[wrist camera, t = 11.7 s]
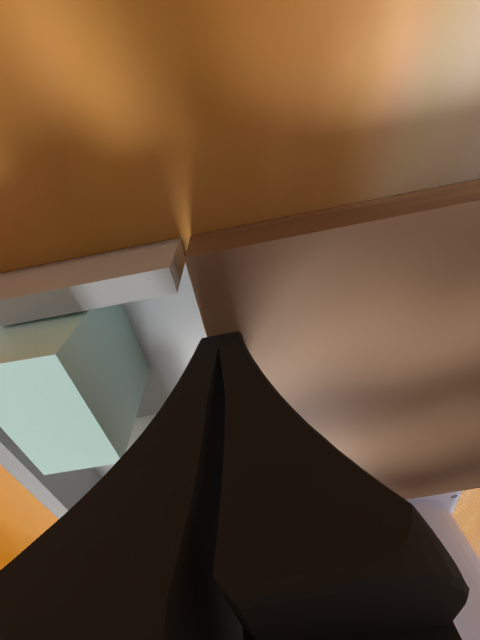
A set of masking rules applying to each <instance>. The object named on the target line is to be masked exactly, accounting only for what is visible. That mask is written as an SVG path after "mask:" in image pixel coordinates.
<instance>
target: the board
mask: <svg viewBox="0 0 480 640" xmlns="http://www.w3.org/2000/svg"><path fill="white" fill-rule="evenodd" d="M185 259H186V262H187V266H188V269H189V273H190V276H191V280H192V283H193V287H194V290H195V294H196V297H197V301H198V304H199V308H200V311H201V314H202V318H203V321H204V325H205V328H206V332H207V335H208V337H210V336H216V335H221V334H226V333H232V332H237V331H239V332H240V333H242V336H243V339H244V342H245V344H246V346H247V348H248V350H249V352H250V354H251V356H252V357H253V359H254V360H255V362H256V363H257V365H258V366H259V368H260V369H261V371H262V372H263V373H264V375H265V376H266V377H267V379H268V380H269V381H270V383H271V384H272V385H273V386H274V388H275V389H276V390H277V391H278V392H279V393H280V395H281V396H282V397H283V398H284V399H285V400H286V401H287V402H288V403H289V404H290V405H291V407H292V408H293V409H294V410H295V411H296V412H297V413H298V414H299V415H300V416H301V417H302V418H303V419H304V420H305V421H306V422H308V423H309V424H310V425H311V426H312V427H313V428H314V429H315V430H316V431H318V432H319V433H320V434H321V435H322V436H323V437H325V438H326V439H327V440H328V441H329V442H330V443H331V444H333V445H334V446H335V447H336V448H337V449H338V450H339V451H341V452H342V453H343V454H345V455H346V456H347V457H348V458H350V459H351V460H352V461H354V462H355V463H356V464H357V465H359V466H360V467H361V468H362V469H364V470H365V471H366V472H368V473H369V474H371V475H372V476H373V477H375V478H376V479H377V480H379V481H380V482H381V483H383V484H384V485H386V486H387V487H388V488H390V489H391V490H393V491H394V492H396V493H397V494H398V495H400V496H401V497H403V498H404V499H406V500H408V499H414V498H420V497H426V496H432V495H438V494H444V493H450V492H456V491H462V490H468V489H474V488H480V179H477V180H472V181H467V182H462V183H457V184H451V185H446V186H441V187H436V188H431V189H426V190H421V191H416V192H411V193H406V194H401V195H396V196H390V197H385V198H380V199H375V200H370V201H365V202H360V203H355V204H350V205H345V206H340V207H335V208H329V209H324V210H319V211H314V212H309V213H304V214H299V215H294V216H289V217H284V218H279V219H274V220H268V221H263V222H258V223H253V224H248V225H243V226H238V227H233V228H228V229H223V230H218V231H213V232H207V233H202V234H197V235H192V236H191V238H190V242H189V245H188V249H187V253H186V257H185Z"/></svg>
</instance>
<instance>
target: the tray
mask: <svg viewBox="0 0 480 640" xmlns="http://www.w3.org/2000/svg"><path fill="white" fill-rule="evenodd" d="M185 257H186V256H185V252H184V249H183V245H182V242H181V238H177V239H172V240H167V241H162V242H157V243H152V244H147V245H141V246H136V247H131V248H126V249H121V250H116V251H111V252H106V253H101V254H96V255H91V256H86V257H80V258H75V259H70V260H65V261H60V262H55V263H50V264H45V265H40V266H35V267H30V268H25V269H19V270H14V271H9V272H4V273H0V329H1V328H2V327H3V326H8V325H13V324H18V323H23V322H28V321H34V320H39V319H44V318H49V317H55V316H60V315H65V314H70V313H75V312H81V311H86V310H91V309H96V308H102V307H107V306H112V305H117V304H123V307H124V309H125V311H126V314H127V316H128V319H129V321H130V323H131V326H132V328H133V331H134V333H135V335H136V338H137V340H138V343H139V345H140V348H141V350H142V352H143V355H144V357H145V360H146V362H147V364H148V367H149V369H150V371H149V374H148V377H147V381H146V384H145V388H144V391H143V395H142V398H141V401H140V405H139V408H138V412H137V415H136V418H139V417H144V416H149V415H154V414H157V413H158V411H159V410H160V408H161V407H162V406H163V404H164V402H165V401H166V399H167V398H168V396H169V395H170V393H171V392H172V390H173V389H174V387H175V386H176V384H177V382H178V381H179V379H180V377H181V376H182V374H183V372H184V370H185V369H186V367H187V365H188V363H189V361H190V359H191V358H192V356H193V354H194V352H195V350H196V348H197V346H198V344H199V342H200V340H201V339H202V338H205V337H208V335H207V332H206V328H205V325H204V321H203V318H202V314H201V311H200V308H199V304H198V301H197V297H196V294H195V290H194V287H193V283H192V280H191V276H190V273H189V269H188V266H187V262H186V259H185ZM0 464H1V465H2V466H3V467H4V468H5V469H6V470H7V471H8V472H9V473H10V474H11V475H12V476H13V477H14V478H16V479H17V480H18V481H19V482H20V483H21V484H22V485H23V486H24V487H25V488H26V489H27V490H28V491H29V492H30V493H32V494H33V495H34V496H35V497H36V498H37V499H38V500H39V501H40V502H41V503H42V504H43V505H44V506H45V507H46V508H47V509H49V510H50V511H51V512H52V513H53V514H54V515H55V516H56V517H57V518H58V519H60V518H61V517H62V516H63V515H64V514H65V513H66V512H67V511H69V510H70V509H71V508H72V507H73V506H74V505H75V504H76V503H77V502H78V501H79V500H80V499H81V498H82V497H83V496H84V495H85V494H86V493H87V492H88V491H89V490H90V489H91V488H92V487H93V486H94V485H95V484H96V483H97V482H98V481H99V480H100V479H101V478H102V477H103V476H104V475H105V474H106V473H107V472H108V471H109V470H110V469H111V468H112V467H113V466H114V464H111V465H104V466H98V467H92V468H86V469H79V470H73V471H67V472H60V473H54V474H48V475H43V473H42V472H41V471H40V470H39V469H38V468H37V467H36V466H35V465H34V464H33V462H32V461H31V460H30V459H29V458H28V457H27V456H26V455H25V454H24V452H23V451H22V450H21V449H20V448H19V447H18V446H17V445H16V444H15V443H14V441H13V440H12V439H11V438H10V437H9V436H8V435H7V434H6V433H5V431H4V430H3V429H2V428H1V427H0Z"/></svg>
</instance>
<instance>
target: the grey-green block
mask: <svg viewBox="0 0 480 640" xmlns="http://www.w3.org/2000/svg"><path fill="white" fill-rule="evenodd" d="M149 371H150V369H149V367H148V364H147V362H146V360H145V357H144V355H143V352H142V350H141V348H140V345H139V343H138V340H137V338H136V335H135V333H134V331H133V328H132V326H131V323H130V321H129V319H128V316H127V314H126V311H125V309H124V307H123V304H117V305H112V306H107V307H102V308H96V309H91V310H86V311H81V312H75V313H70V314H65V315H60V316H55V317H49V318H44V319H39V320H34V321H28V322H23V323H18V324H13V325H8V326H3V327H2V328H1V329H0V427H1V428H2V429H3V430H4V431H5V433H6V434H7V435H8V436H9V437H10V438H11V439H12V440H13V441H14V443H15V444H16V445H17V446H18V447H19V448H20V449H21V450H22V451H23V452H24V454H25V455H26V456H27V457H28V458H29V459H30V460H31V461H32V462H33V464H34V465H35V466H36V467H37V468H38V469H39V470H40V471H41V472H42V473H43V475H48V474H54V473H60V472H67V471H73V470H79V469H86V468H92V467H98V466H104V465H111V464H115V463H116V462H117V461H118V460H119V459H120V458H121V457H122V456H123V454H124V453H125V452H126V449H127V446H128V443H129V439H130V436H131V432H132V429H133V425H134V422H135V419H136V415H137V412H138V408H139V405H140V401H141V398H142V395H143V391H144V388H145V384H146V381H147V377H148V374H149Z"/></svg>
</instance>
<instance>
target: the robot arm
mask: <svg viewBox="0 0 480 640" xmlns="http://www.w3.org/2000/svg"><path fill="white" fill-rule="evenodd" d="M461 493H462V491H456V492H450V493H444V494H438V495H432V496H426V497H420V498H414V499H408V500H406V499H404V498H403V497H401V496H400V495H398V494H397V493H396V492H394V491H393V490H391V489H390V488H388V487H387V486H386V485H384V484H383V483H381V482H380V481H379V480H377V479H376V478H375V477H373V476H372V475H371V474H369V473H368V472H366V471H365V470H364V469H362V468H361V467H360V466H359V465H357V464H356V463H355V462H354V461H352V460H351V459H350V458H348V457H347V456H346V455H345V454H343V453H342V452H341V451H339V450H338V449H337V448H336V447H335V446H334V445H333V444H331V443H330V442H329V441H328V440H327V439H326V438H325V437H323V436H322V435H321V434H320V433H319V432H318V431H316V430H315V429H314V428H313V427H312V426H311V425H310V424H309V423H308V422H306V421H305V420H304V419H303V418H302V417H301V416H300V415H299V414H298V413H297V412H296V411H295V410H294V409H293V408H292V407H291V405H290V404H289V403H288V402H287V401H286V400H285V399H284V398H283V397H282V396H281V395H280V393H279V392H278V391H277V390H276V389H275V388H274V386H273V385H272V384H271V383H270V381H269V380H268V379H267V377H266V376H265V375H264V373H263V372H262V371H261V369H260V368H259V366H258V365H257V363H256V362H255V360H254V359H253V357H252V356H251V354H250V352H249V350H248V348H247V346H246V344H245V342H244V339H243V336H242V333H240V332H239V331H237V332H232V333H226V334H221V335H216V336H210V337H205V338H202V339H201V340H200V342H199V344H198V346H197V348H196V350H195V352H194V354H193V356H192V358H191V359H190V361H189V363H188V365H187V367H186V369H185V370H184V372H183V374H182V376H181V377H180V379H179V381H178V382H177V384H176V386H175V387H174V389H173V390H172V392H171V393H170V395H169V396H168V398H167V399H166V401H165V402H164V404H163V406H162V407H161V408H160V410H159V411H158V413H157V414H156V415H155V417H154V418H153V419H152V421H151V422H150V423H149V425H148V426H147V427H146V429H145V430H144V431H143V432H142V434H141V435H140V436H139V437H138V439H137V440H136V441H135V442H134V443H133V444H132V446H131V447H130V448H129V449H128V450H127V451H126V452H125V453H124V454H123V456H122V457H121V458H120V459H119V460H118V461H117V462H116V463H115V464H114V466H113V467H112V468H111V469H110V470H109V471H108V472H107V473H106V474H105V475H104V476H103V477H102V478H101V479H100V480H99V481H98V482H97V483H96V484H95V485H94V486H93V487H92V488H91V489H90V490H89V491H88V492H87V493H86V494H85V495H84V496H83V497H82V498H81V499H80V500H79V501H78V502H77V503H76V504H75V505H74V506H73V507H72V508H71V509H70V510H69V511H67V512H66V513H65V514H64V515H63V516H62V517H61V518H60V519H59V520H58V521H57V522H56V523H54V524H53V525H52V526H51V527H50V528H49V529H48V530H46V531H45V532H44V533H43V534H42V535H41V536H40V537H38V538H37V539H36V540H35V541H34V542H33V543H32V544H30V545H29V546H28V547H27V548H26V549H25V550H24V551H22V552H21V553H20V554H19V555H18V556H17V557H16V558H14V559H13V560H12V561H11V562H10V563H9V564H7V565H6V566H5V567H4V568H3V569H2V570H0V640H480V558H479V557H478V555H477V554H476V552H475V550H474V549H473V547H472V546H471V544H470V543H469V541H468V539H467V538H466V536H465V535H464V533H463V532H462V530H461V529H460V527H459V525H458V524H457V522H456V521H455V519H454V518H453V516H452V513H453V511H454V509H455V506H456V504H457V502H458V500H459V497H460V495H461Z"/></svg>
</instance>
